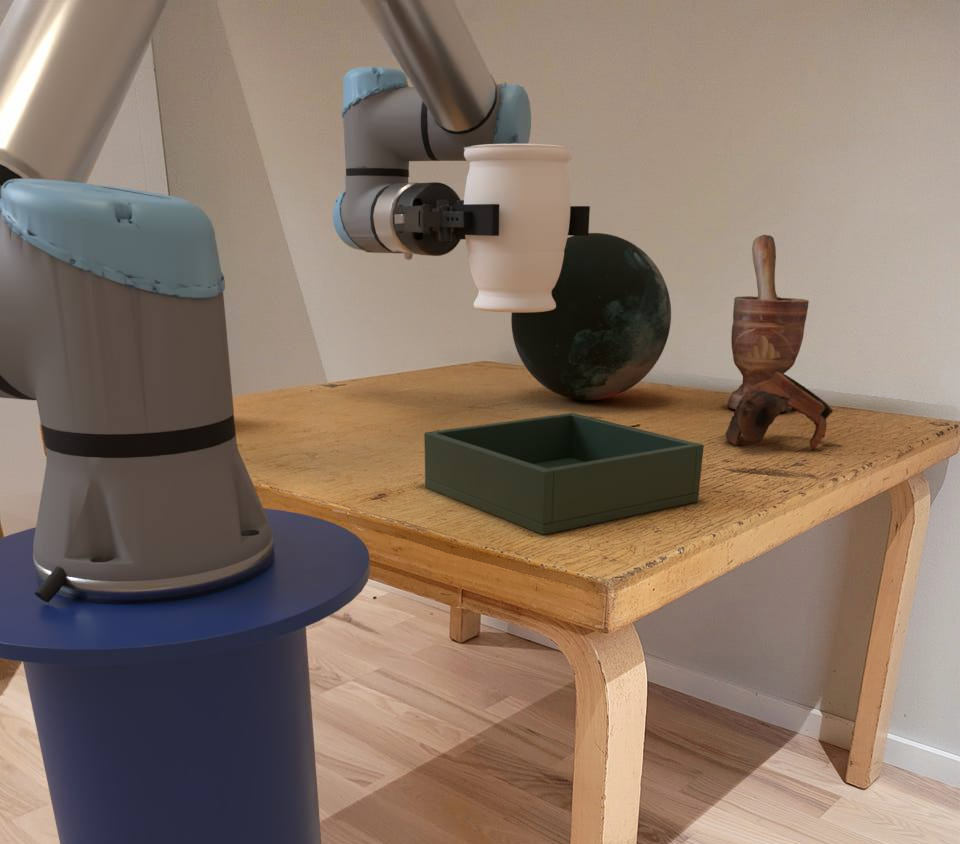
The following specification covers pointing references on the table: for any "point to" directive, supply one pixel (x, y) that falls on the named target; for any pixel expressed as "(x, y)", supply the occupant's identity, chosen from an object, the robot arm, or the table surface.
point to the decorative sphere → (597, 321)
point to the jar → (519, 224)
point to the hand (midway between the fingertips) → (542, 220)
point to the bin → (562, 470)
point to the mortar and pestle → (765, 326)
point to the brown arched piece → (776, 409)
